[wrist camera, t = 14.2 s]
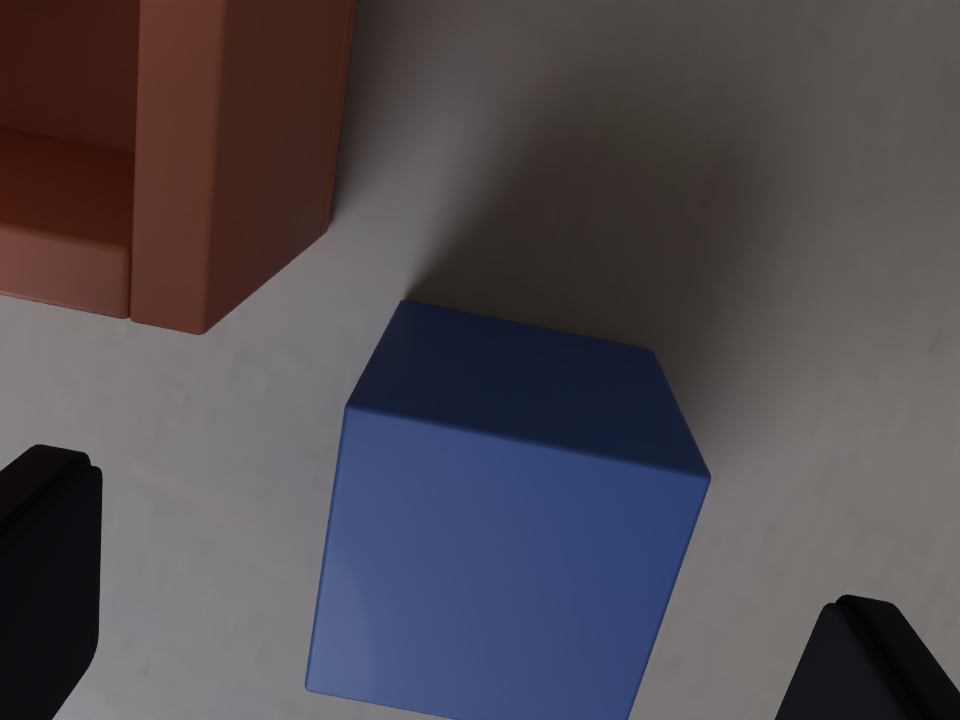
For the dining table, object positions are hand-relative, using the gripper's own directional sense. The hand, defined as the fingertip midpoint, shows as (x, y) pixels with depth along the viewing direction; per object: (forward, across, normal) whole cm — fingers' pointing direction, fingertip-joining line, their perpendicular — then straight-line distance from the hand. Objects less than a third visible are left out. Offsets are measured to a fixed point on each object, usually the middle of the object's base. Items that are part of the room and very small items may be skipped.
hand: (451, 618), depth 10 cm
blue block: (+5, -1, 0) cm, 5 cm away
